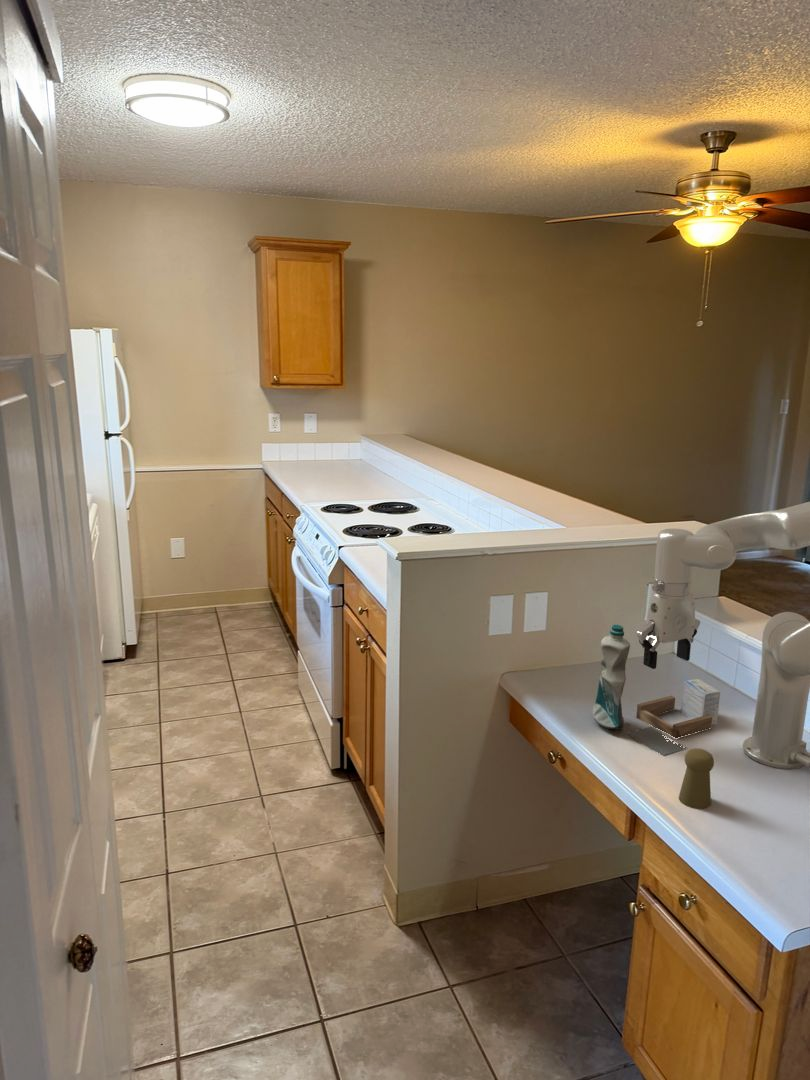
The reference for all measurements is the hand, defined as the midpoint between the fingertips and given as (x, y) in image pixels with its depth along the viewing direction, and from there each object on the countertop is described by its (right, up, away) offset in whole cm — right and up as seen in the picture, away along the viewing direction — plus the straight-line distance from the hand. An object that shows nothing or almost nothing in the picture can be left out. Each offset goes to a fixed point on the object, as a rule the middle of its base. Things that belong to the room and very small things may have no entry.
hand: (666, 662), depth 164 cm
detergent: (-9, -17, +12) cm, 23 cm away
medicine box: (+13, -16, +16) cm, 26 cm away
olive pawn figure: (-1, -24, -18) cm, 31 cm away
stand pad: (-1, -19, +5) cm, 19 cm away
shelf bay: (+6, -17, +13) cm, 22 cm away
